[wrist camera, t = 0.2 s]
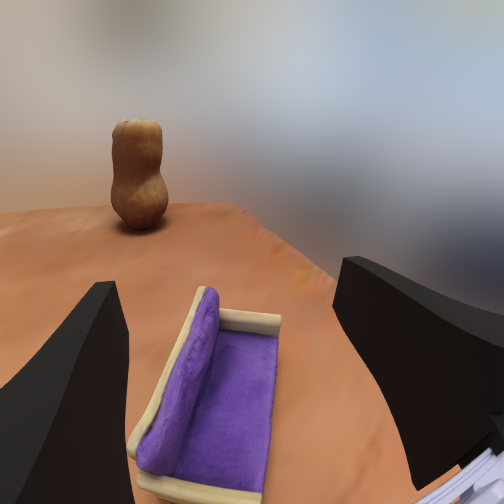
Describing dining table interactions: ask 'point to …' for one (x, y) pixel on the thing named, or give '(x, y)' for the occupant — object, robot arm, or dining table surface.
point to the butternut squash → (138, 173)
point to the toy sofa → (211, 409)
